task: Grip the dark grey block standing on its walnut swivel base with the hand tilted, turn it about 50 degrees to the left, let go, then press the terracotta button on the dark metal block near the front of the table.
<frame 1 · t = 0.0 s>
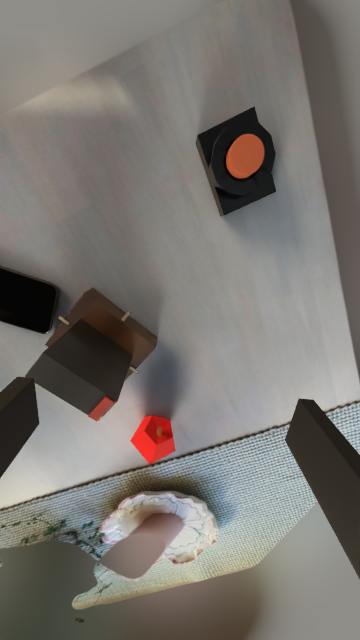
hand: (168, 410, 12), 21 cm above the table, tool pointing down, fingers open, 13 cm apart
button block: (233, 169, 27), on the table
swivel base: (107, 336, 33), on the table
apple: (156, 423, 39), on the table
button: (244, 157, 22), point 4 cm above the table, slide at 0.1 cm
dark grey block: (88, 364, 26), point 8 cm above the table, hinge at 0.0°
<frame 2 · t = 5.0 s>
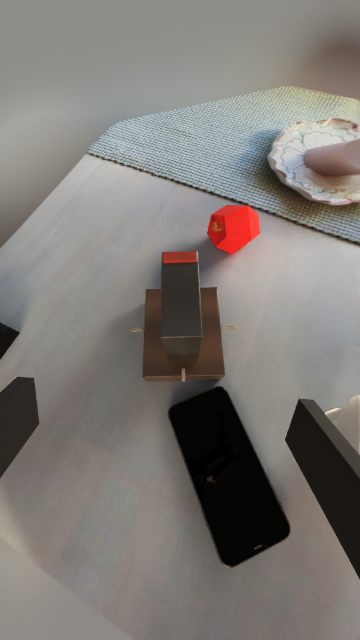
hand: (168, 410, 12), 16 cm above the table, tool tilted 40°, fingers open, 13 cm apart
smartphone: (222, 464, 25), on the table
swivel base: (182, 336, 31), on the table
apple: (230, 242, 36), on the table
cup: (350, 449, 25), on the table
dark grey block: (181, 312, 24), point 8 cm above the table, hinge at 0.0°
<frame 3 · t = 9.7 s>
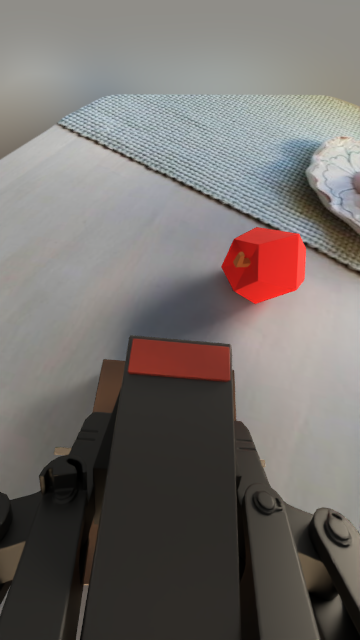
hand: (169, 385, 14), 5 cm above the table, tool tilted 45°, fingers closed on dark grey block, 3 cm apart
swivel base: (161, 452, 16), on the table
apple: (252, 284, 24), on the table
dark grey block: (165, 469, 10), point 8 cm above the table, hinge at 0.0°, touching gripper
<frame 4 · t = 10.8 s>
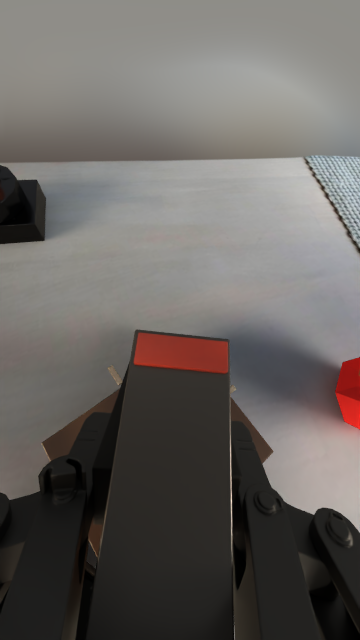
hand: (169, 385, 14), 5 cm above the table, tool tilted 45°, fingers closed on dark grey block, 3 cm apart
button block: (3, 221, 24), on the table
swivel base: (160, 444, 17), on the table
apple: (358, 403, 20), on the table
dark grey block: (165, 456, 10), point 8 cm above the table, hinge at 48.8°, touching gripper
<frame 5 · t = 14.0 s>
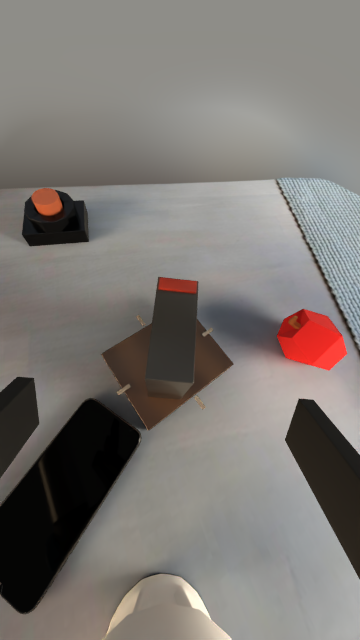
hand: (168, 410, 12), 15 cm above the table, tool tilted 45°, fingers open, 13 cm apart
smartphone: (66, 486, 22), on the table
button block: (60, 228, 35), on the table
swivel base: (167, 366, 28), on the table
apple: (297, 348, 31), on the table
button: (47, 202, 31), point 4 cm above the table, slide at 0.1 cm
dark grey block: (170, 344, 21), point 8 cm above the table, hinge at 49.6°
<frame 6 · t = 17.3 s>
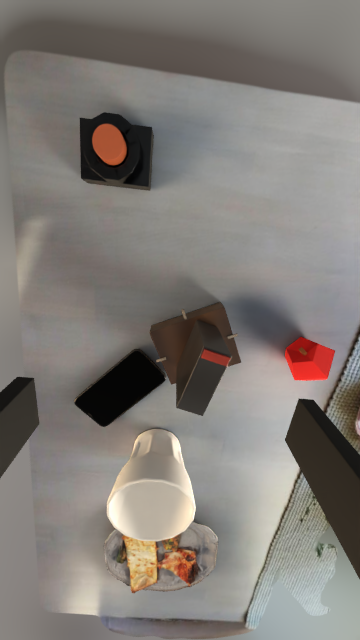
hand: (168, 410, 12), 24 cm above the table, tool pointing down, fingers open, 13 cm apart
smartphone: (120, 387, 39), on the table
button block: (119, 160, 29), on the table
food plate: (162, 543, 52), on the table
swivel base: (194, 339, 37), on the table
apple: (299, 351, 38), on the table
cup: (157, 446, 43), on the table
button: (110, 145, 25), point 4 cm above the table, slide at 0.1 cm
dark grey block: (199, 363, 30), point 8 cm above the table, hinge at 49.6°
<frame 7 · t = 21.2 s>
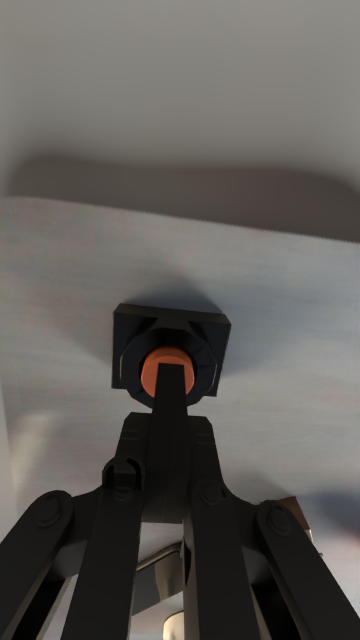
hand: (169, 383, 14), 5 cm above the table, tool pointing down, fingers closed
smartphone: (151, 576, 30), on the table
button block: (169, 344, 19), on the table
swivel base: (254, 532, 27), on the table
cup: (192, 622, 35), on the table
button: (168, 371, 15), point 4 cm above the table, slide at -0.4 cm, touching gripper
dark grey block: (283, 638, 20), point 8 cm above the table, hinge at 49.6°
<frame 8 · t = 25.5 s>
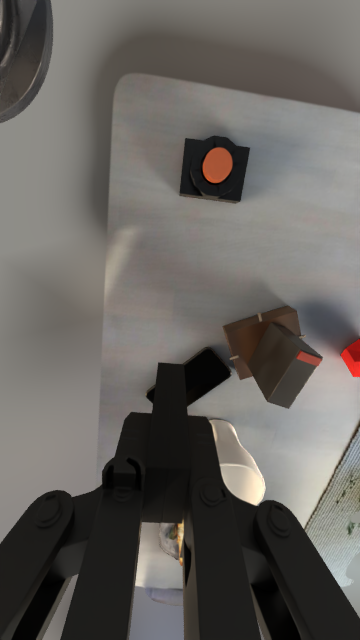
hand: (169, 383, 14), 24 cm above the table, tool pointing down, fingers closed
smartphone: (187, 381, 43), on the table
button block: (211, 175, 32), on the table
food plate: (208, 522, 57), on the table
swivel base: (260, 339, 40), on the table
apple: (353, 350, 42), on the table
cup: (214, 434, 47), on the table
button: (217, 166, 28), point 4 cm above the table, slide at 0.1 cm
dark grey block: (279, 362, 33), point 8 cm above the table, hinge at 49.6°
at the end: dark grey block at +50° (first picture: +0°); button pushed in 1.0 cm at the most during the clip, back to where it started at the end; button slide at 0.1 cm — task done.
